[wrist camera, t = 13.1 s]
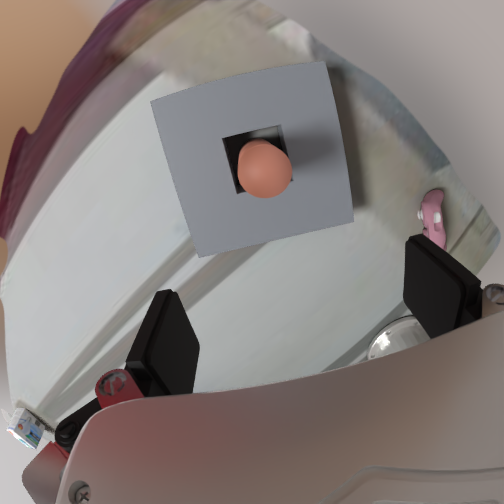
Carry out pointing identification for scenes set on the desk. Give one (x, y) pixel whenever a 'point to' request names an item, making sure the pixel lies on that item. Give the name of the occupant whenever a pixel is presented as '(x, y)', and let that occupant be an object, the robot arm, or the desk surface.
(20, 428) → the light bulb box
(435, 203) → the video game controller
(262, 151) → the dowel
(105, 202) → the desk surface
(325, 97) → the socket plate
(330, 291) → the desk surface
